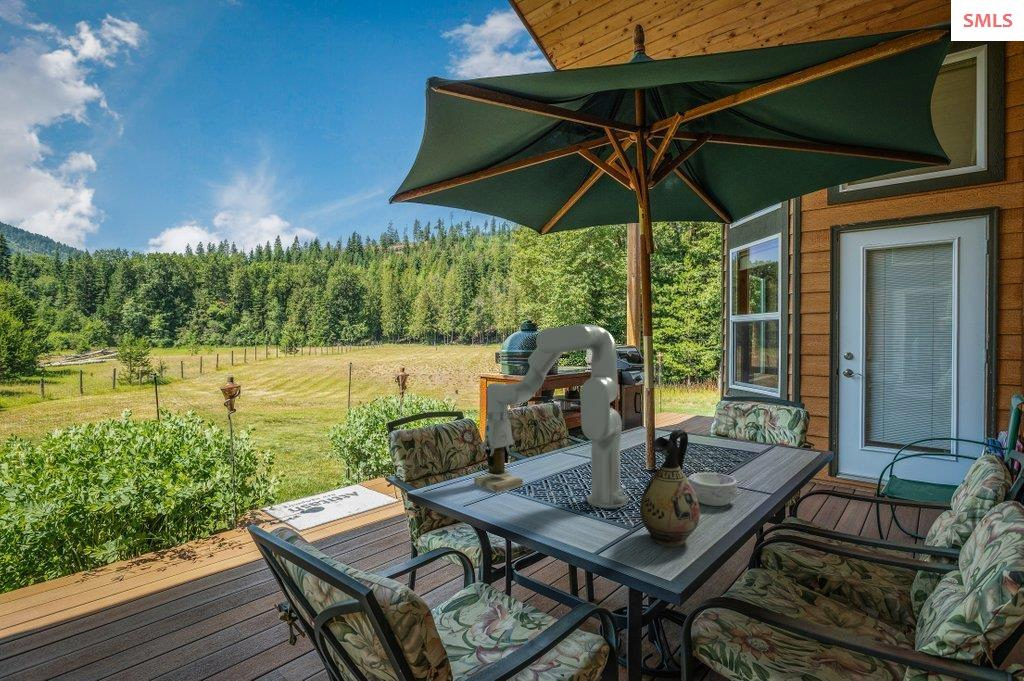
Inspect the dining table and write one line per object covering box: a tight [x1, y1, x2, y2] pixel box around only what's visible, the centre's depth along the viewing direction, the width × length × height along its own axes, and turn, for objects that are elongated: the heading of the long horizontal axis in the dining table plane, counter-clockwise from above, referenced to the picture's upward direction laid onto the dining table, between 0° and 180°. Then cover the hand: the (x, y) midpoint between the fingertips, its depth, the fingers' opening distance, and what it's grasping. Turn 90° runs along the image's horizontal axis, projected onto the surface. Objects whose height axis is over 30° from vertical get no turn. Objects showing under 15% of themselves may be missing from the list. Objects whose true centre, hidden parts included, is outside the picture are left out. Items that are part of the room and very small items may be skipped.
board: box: [473, 473, 524, 493], centre depth 186 cm, size 14×12×2 cm
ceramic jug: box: [639, 429, 700, 548], centre depth 136 cm, size 17×15×30 cm
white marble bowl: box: [687, 472, 739, 507], centre depth 166 cm, size 15×15×8 cm
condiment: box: [483, 447, 513, 476], centre depth 186 cm, size 7×8×12 cm
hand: (498, 463), depth 186 cm, fingers closed on condiment, 6 cm apart
